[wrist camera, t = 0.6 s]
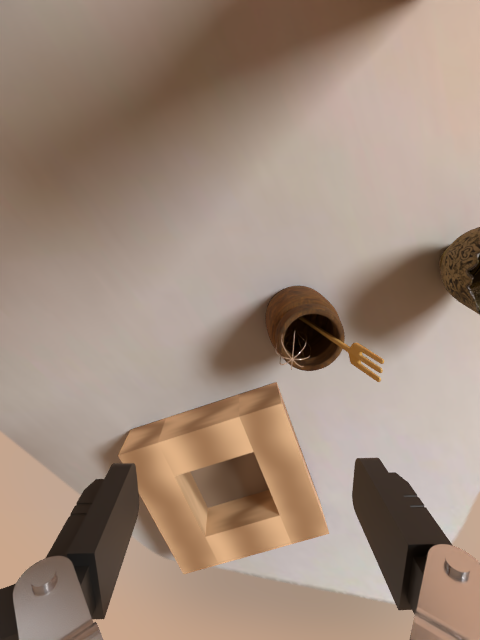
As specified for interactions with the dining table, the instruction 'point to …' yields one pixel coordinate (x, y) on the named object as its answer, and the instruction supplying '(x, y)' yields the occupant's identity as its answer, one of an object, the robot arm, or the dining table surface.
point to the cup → (463, 269)
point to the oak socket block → (226, 480)
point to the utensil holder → (311, 332)
